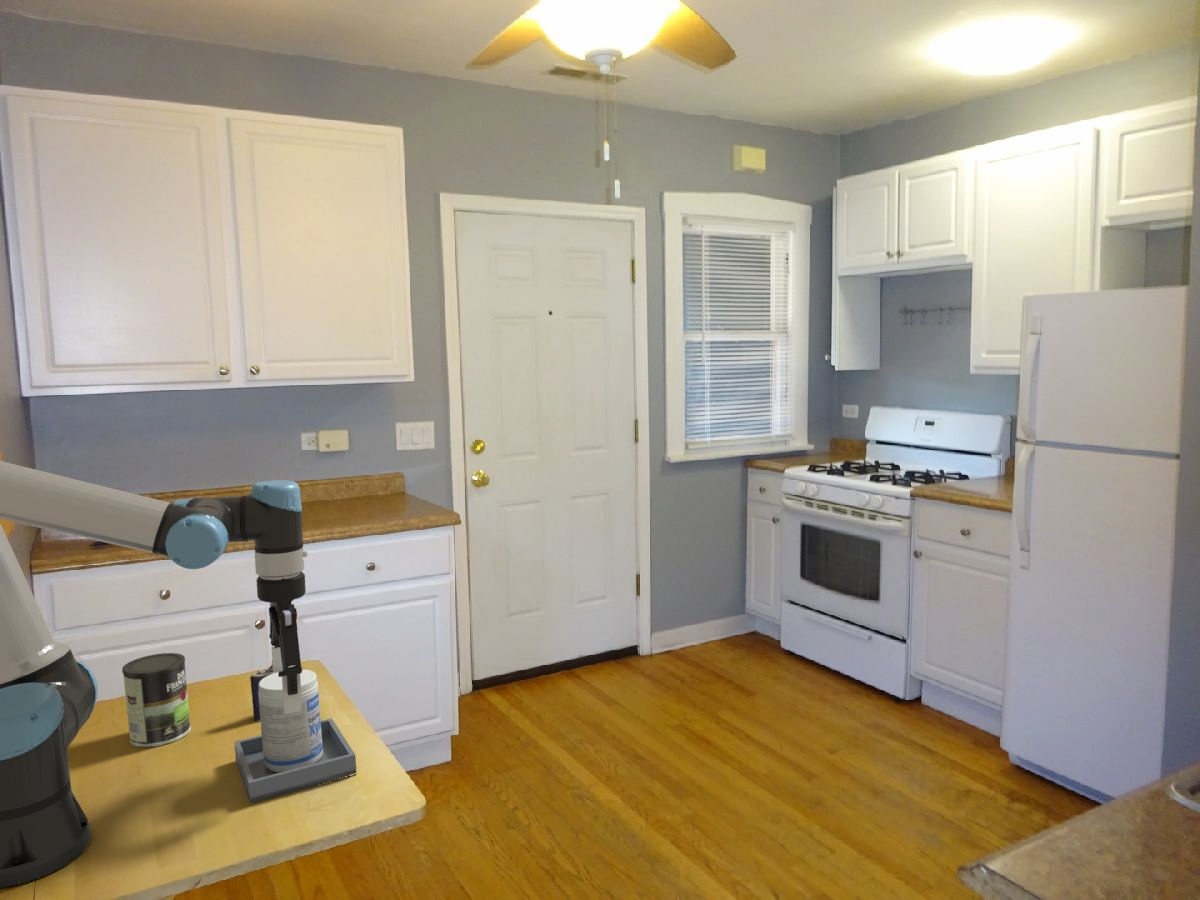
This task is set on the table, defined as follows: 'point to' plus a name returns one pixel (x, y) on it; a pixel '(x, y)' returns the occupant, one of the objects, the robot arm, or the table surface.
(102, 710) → the table surface
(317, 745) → the supplement tub
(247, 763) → the tray
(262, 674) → the flask
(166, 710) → the coffee can
